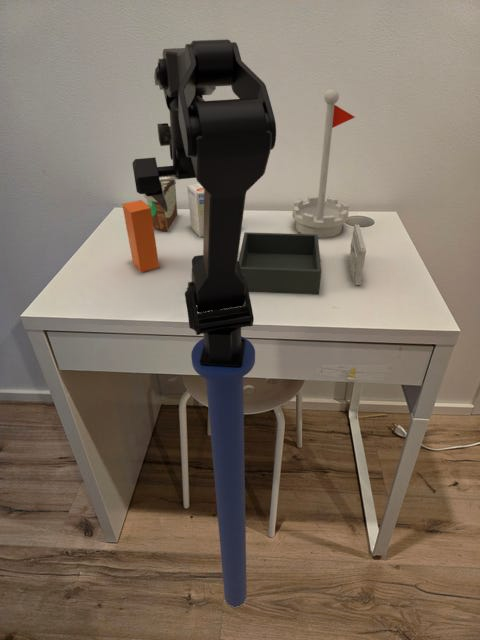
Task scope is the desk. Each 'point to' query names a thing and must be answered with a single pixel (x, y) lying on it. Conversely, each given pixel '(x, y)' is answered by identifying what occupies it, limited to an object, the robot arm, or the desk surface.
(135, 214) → the block
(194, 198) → the light bulb box
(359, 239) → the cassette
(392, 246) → the desk surface
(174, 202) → the food container
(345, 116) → the flag stand
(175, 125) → the robot arm
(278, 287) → the open storage bin
